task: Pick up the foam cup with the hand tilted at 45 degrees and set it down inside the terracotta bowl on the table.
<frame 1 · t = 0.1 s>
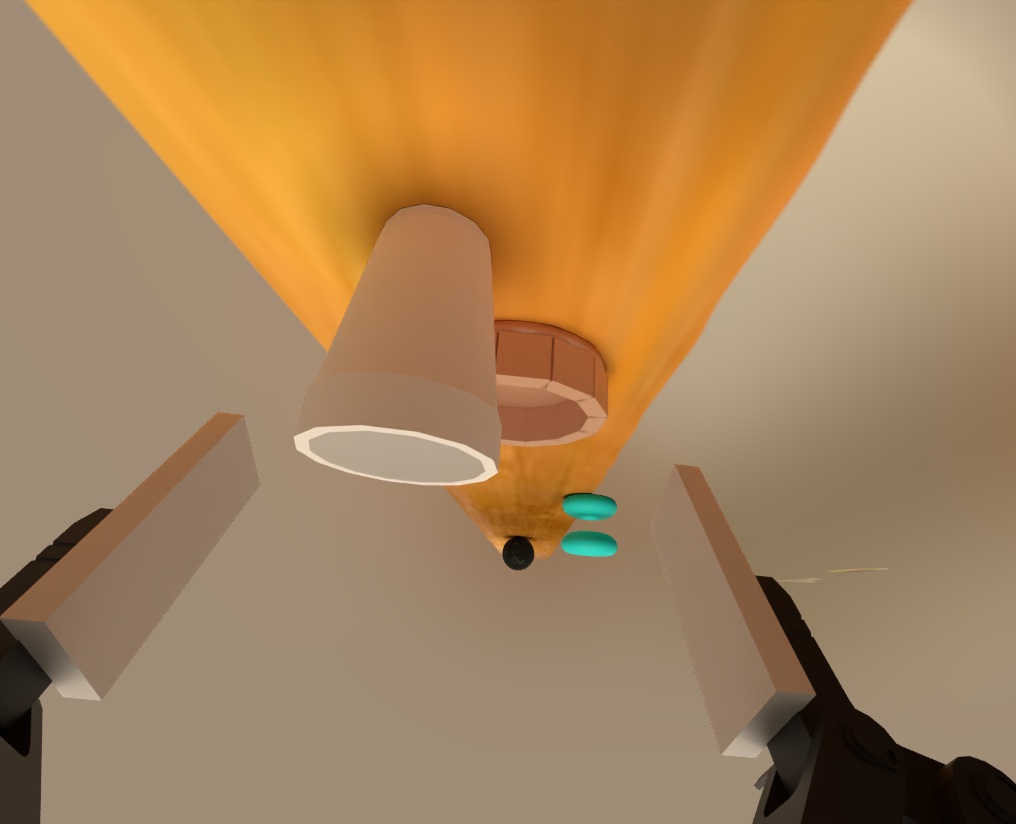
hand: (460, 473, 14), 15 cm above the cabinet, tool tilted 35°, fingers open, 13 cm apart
bowl: (517, 369, 40), on the cabinet
decorative stone: (519, 536, 144), on the cabinet
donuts: (589, 497, 85), on the cabinet
foam cup: (438, 245, 27), on the cabinet
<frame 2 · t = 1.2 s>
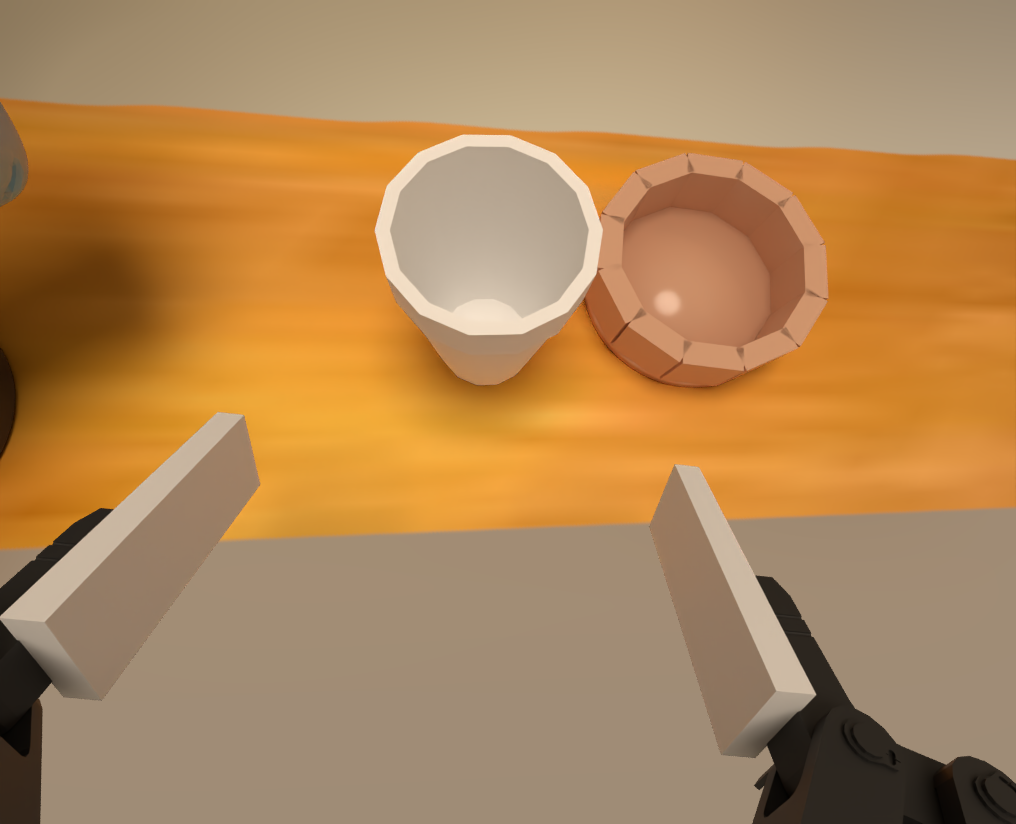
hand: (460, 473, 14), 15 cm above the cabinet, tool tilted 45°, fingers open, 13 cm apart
bowl: (683, 289, 33), on the cabinet
foam cup: (485, 343, 32), on the cabinet
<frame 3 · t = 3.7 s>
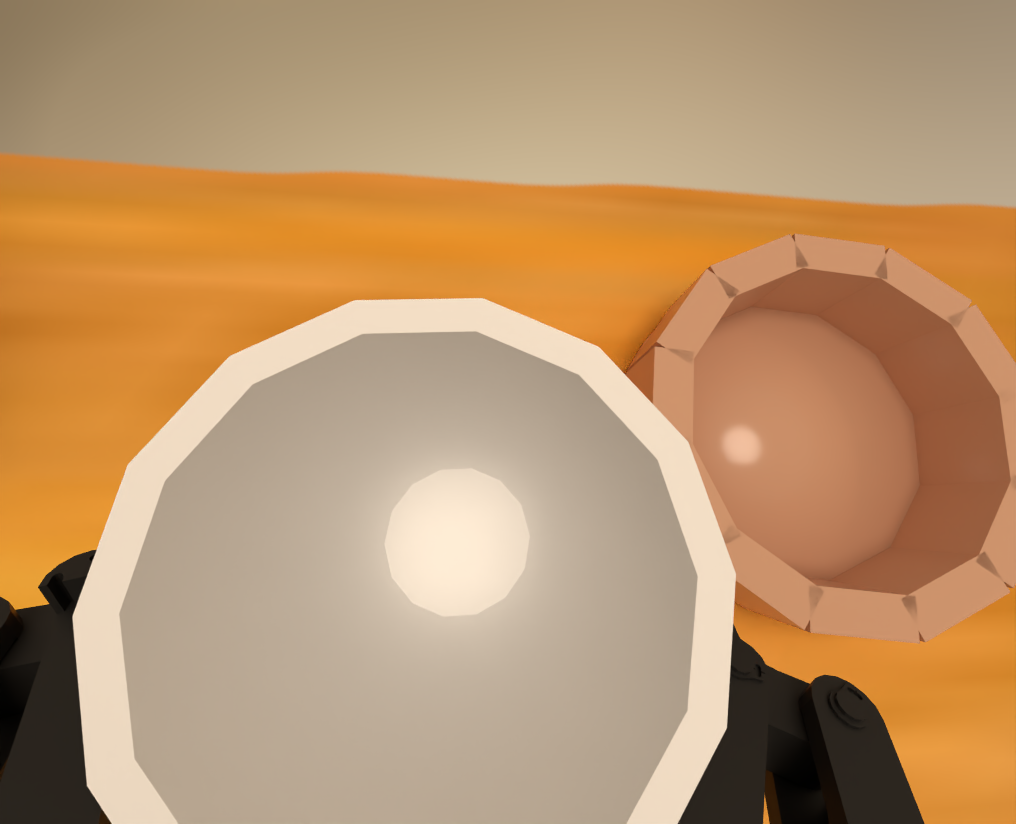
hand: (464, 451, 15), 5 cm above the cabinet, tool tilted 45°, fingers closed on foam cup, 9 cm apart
bowl: (773, 438, 21), on the cabinet
foam cup: (458, 538, 19), on the cabinet, touching gripper
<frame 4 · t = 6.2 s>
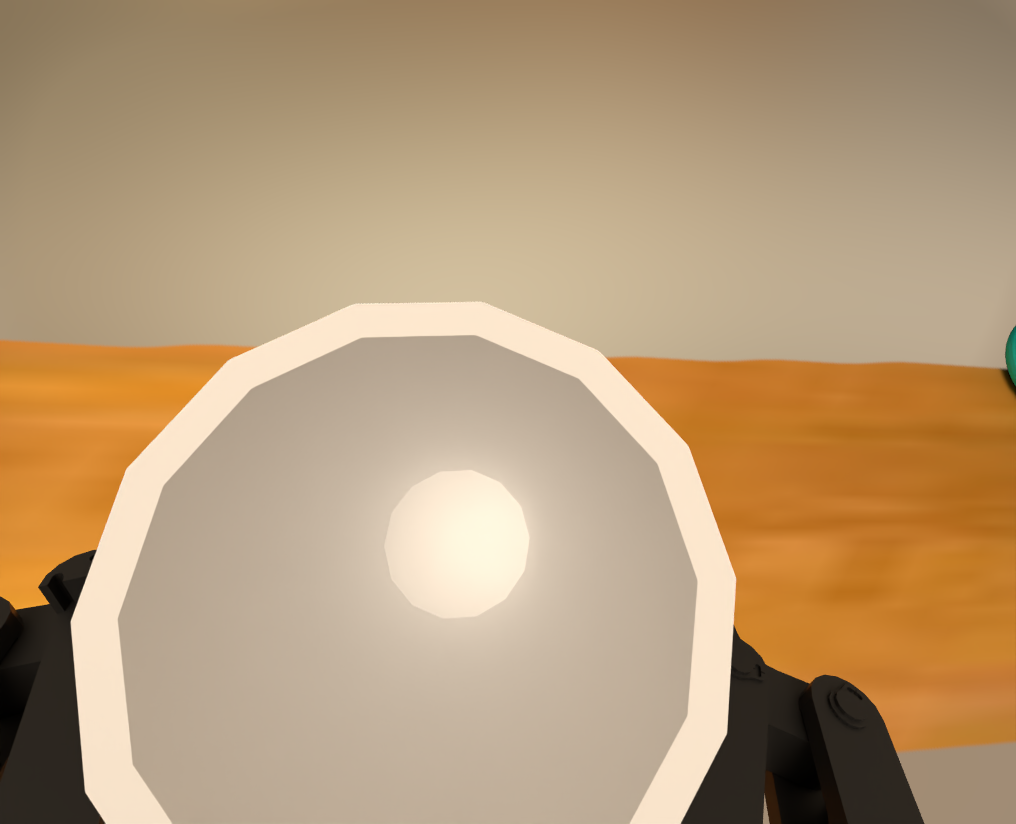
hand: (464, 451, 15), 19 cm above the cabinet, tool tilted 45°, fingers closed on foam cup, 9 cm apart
foam cup: (458, 540, 19), point 14 cm above the cabinet, touching gripper
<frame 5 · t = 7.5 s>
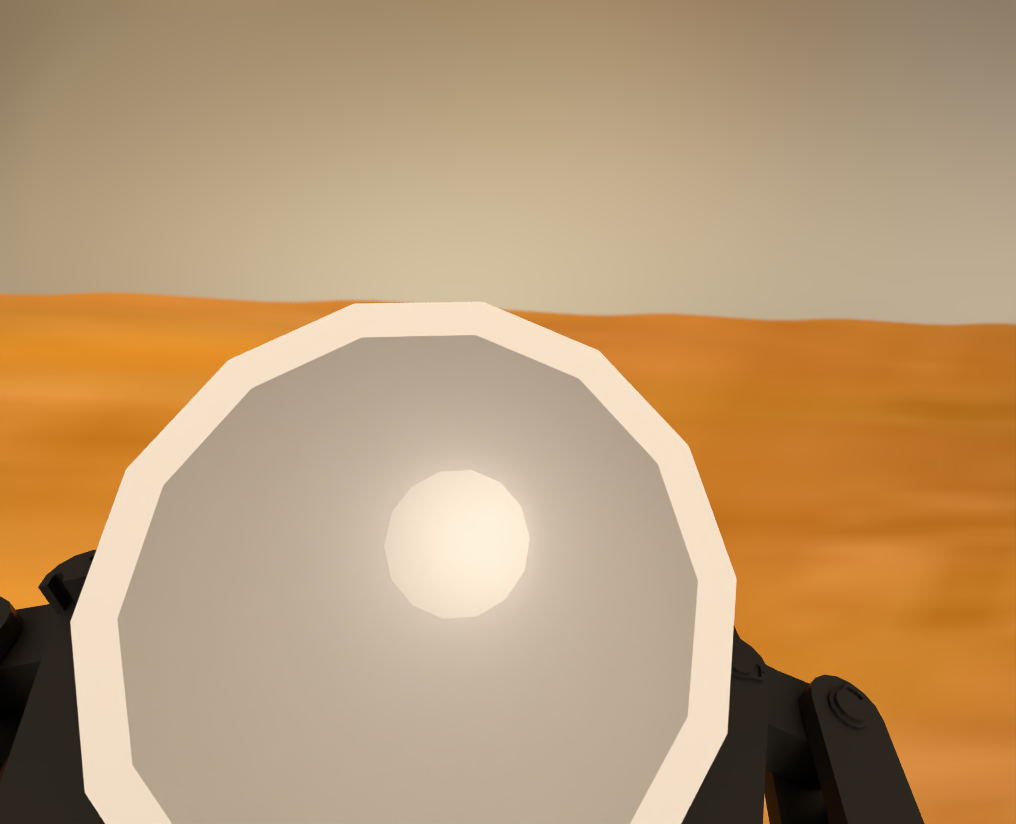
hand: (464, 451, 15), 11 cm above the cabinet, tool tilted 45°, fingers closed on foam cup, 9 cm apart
foam cup: (458, 540, 19), point 6 cm above the cabinet, touching gripper
when the fingers open (7 cm above the cabinet, at t = 8.7 s): foam cup drops 1 cm, resting on bowl.
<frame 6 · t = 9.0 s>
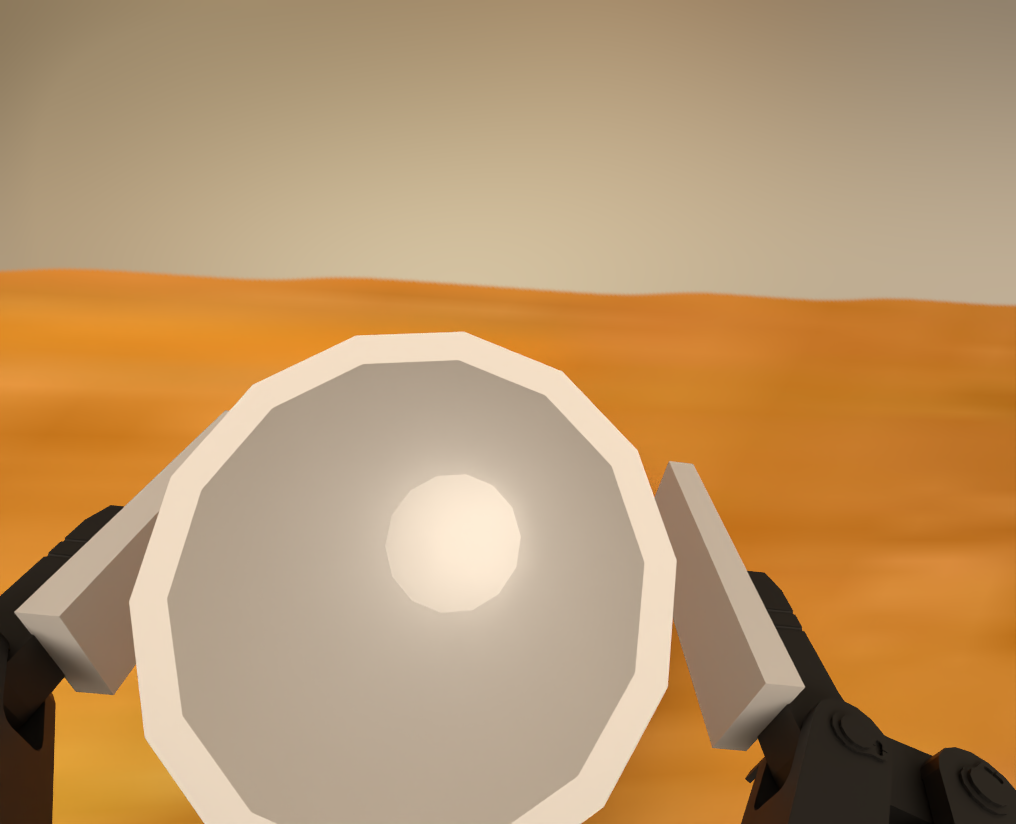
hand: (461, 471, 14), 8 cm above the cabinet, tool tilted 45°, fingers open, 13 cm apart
foam cup: (454, 540, 21), point 1 cm above the cabinet, touching bowl
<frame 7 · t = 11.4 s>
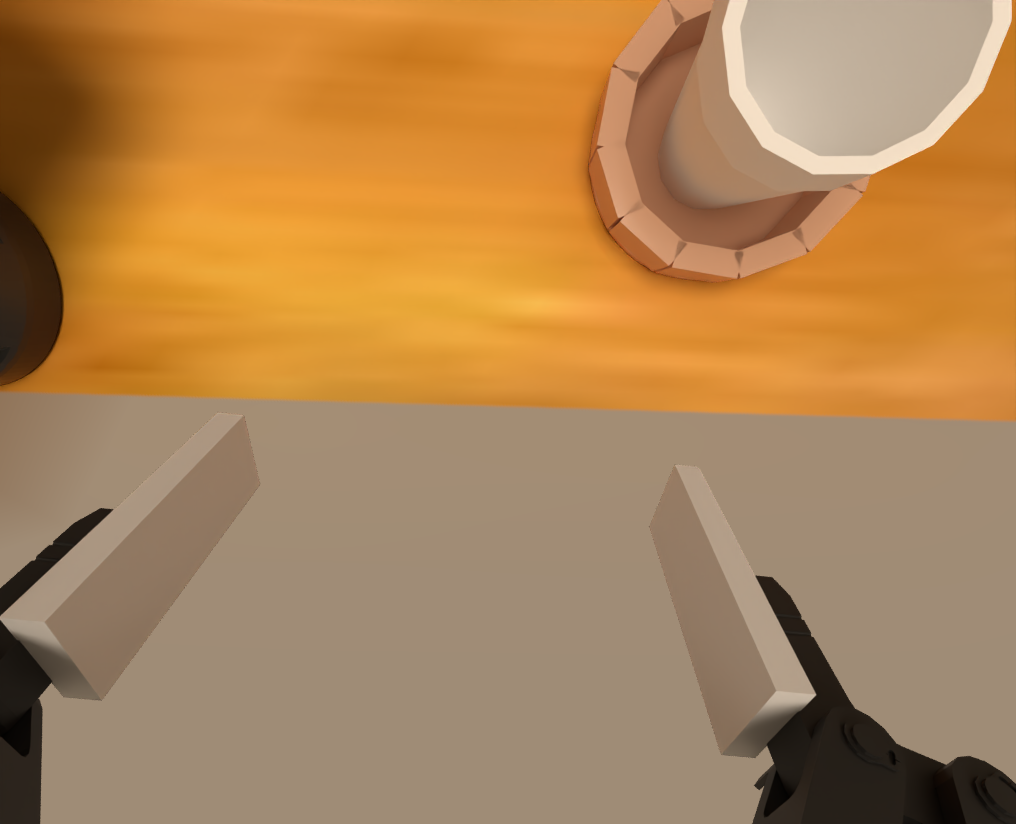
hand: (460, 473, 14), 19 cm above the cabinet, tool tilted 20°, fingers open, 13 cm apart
bowl: (707, 158, 29), on the cabinet
foam cup: (708, 156, 28), point 1 cm above the cabinet, touching bowl
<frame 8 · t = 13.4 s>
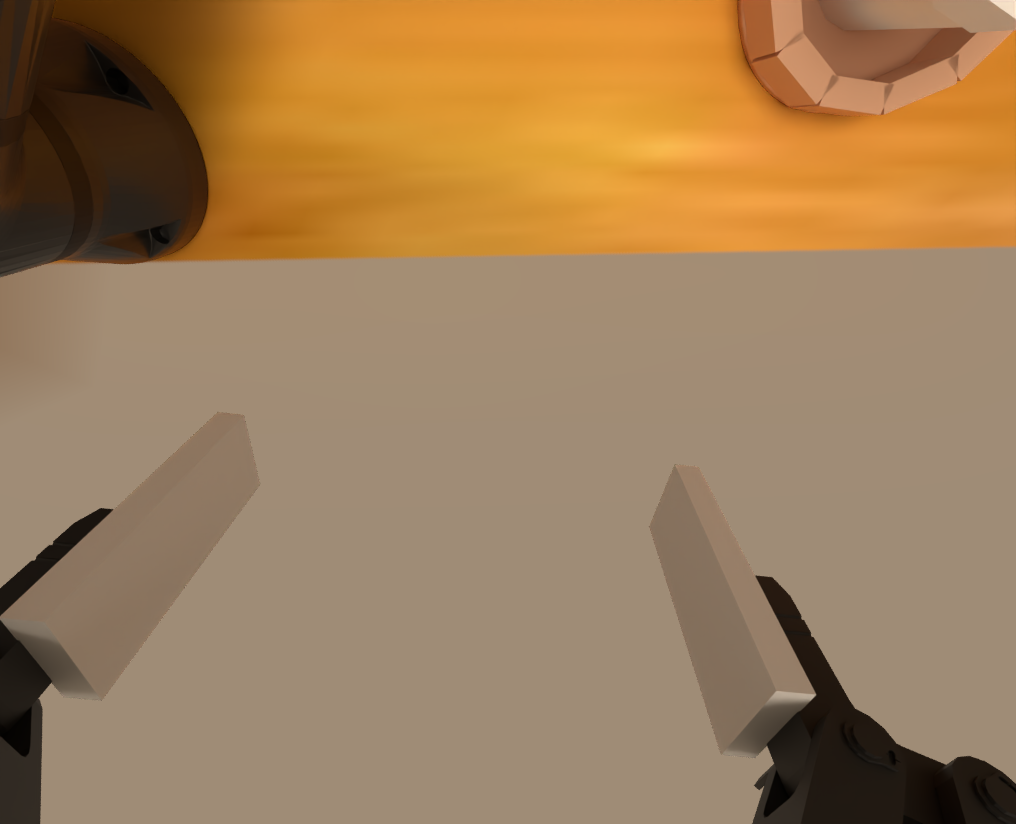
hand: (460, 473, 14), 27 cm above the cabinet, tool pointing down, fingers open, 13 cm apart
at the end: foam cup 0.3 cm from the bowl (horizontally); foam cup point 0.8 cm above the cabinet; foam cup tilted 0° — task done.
